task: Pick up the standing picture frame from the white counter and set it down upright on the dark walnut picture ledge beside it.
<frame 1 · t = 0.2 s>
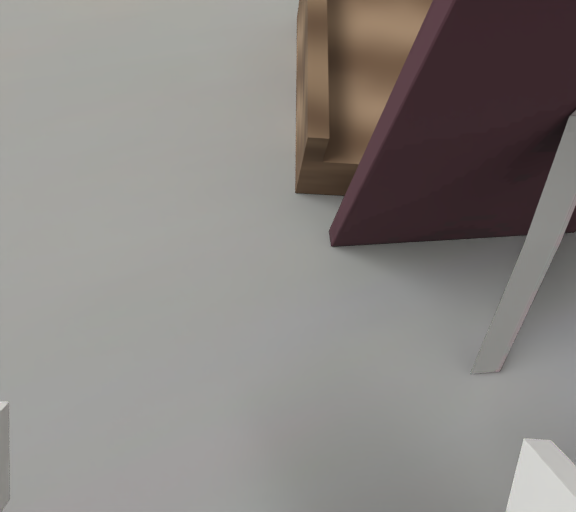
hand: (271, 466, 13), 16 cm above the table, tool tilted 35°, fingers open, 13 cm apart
walnut ledge: (447, 109, 38), on the table
picture frame: (467, 295, 33), on the table
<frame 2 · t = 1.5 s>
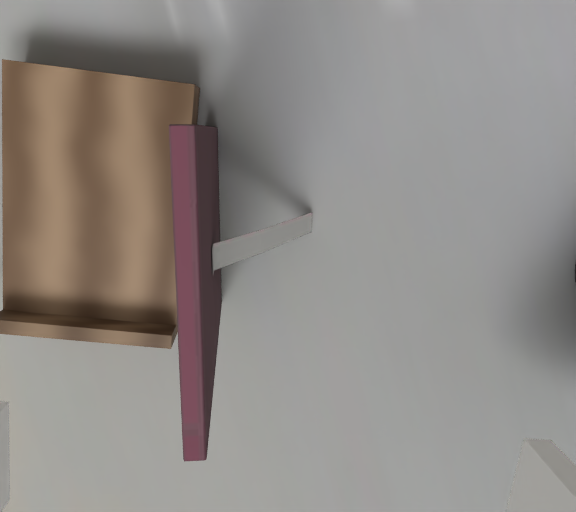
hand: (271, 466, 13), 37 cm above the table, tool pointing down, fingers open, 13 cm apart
walnut ledge: (107, 202, 48), on the table
picture frame: (259, 218, 49), on the table
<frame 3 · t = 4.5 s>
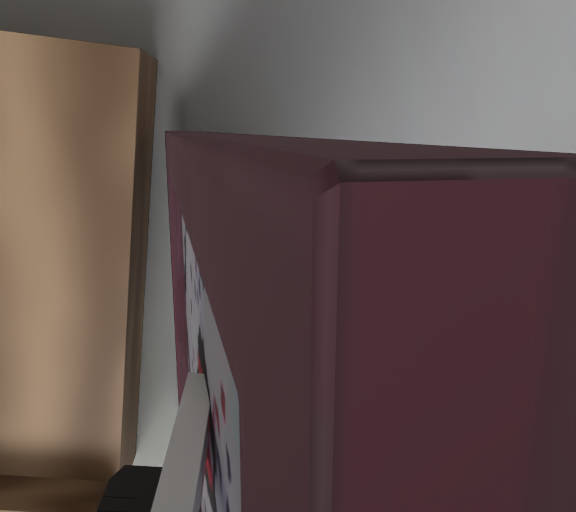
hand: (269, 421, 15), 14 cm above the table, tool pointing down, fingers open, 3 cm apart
walnut ledge: (1, 261, 27), on the table
picture frame: (266, 289, 28), point 1 cm above the table
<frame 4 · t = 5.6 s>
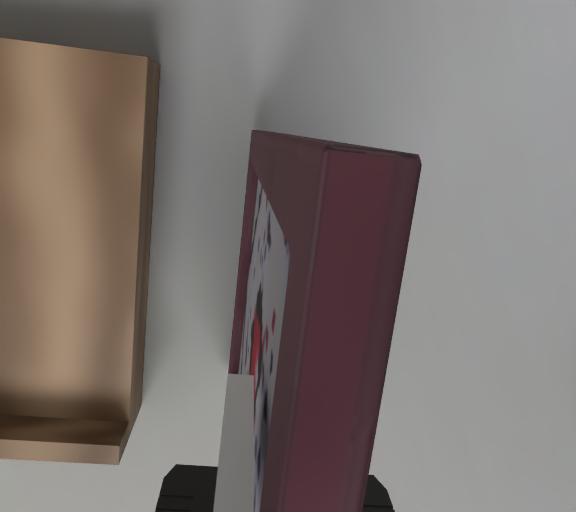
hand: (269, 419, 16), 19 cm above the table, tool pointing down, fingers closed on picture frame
walnut ledge: (26, 237, 32), on the table
picture frame: (317, 275, 32), point 2 cm above the table, touching gripper
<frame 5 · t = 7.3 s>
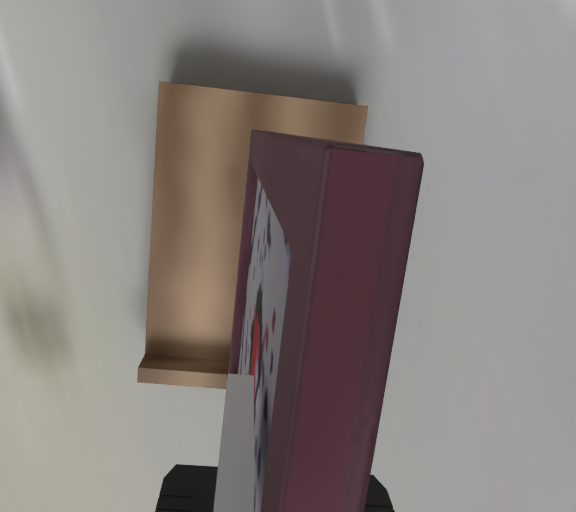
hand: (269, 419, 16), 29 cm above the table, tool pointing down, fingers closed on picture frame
walnut ledge: (251, 233, 44), on the table
picture frame: (317, 275, 32), point 12 cm above the table, touching gripper
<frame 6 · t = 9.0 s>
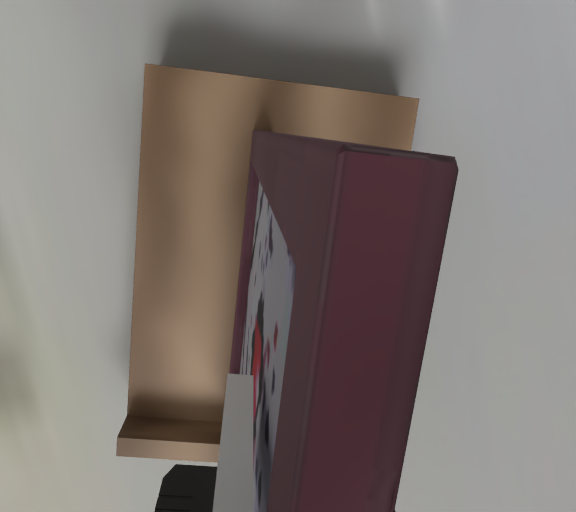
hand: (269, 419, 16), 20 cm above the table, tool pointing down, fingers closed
walnut ledge: (263, 259, 35), on the table
picture frame: (320, 281, 31), point 4 cm above the table, touching gripper, walnut ledge
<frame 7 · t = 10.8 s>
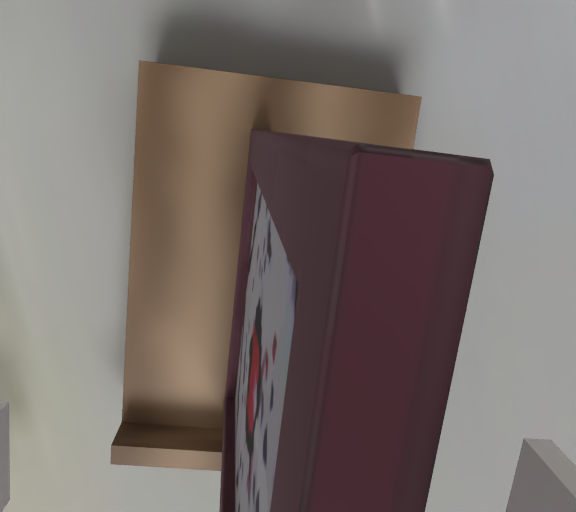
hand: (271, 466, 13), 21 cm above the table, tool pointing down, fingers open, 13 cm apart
walnut ledge: (261, 261, 34), on the table
picture frame: (320, 284, 30), point 4 cm above the table, touching walnut ledge
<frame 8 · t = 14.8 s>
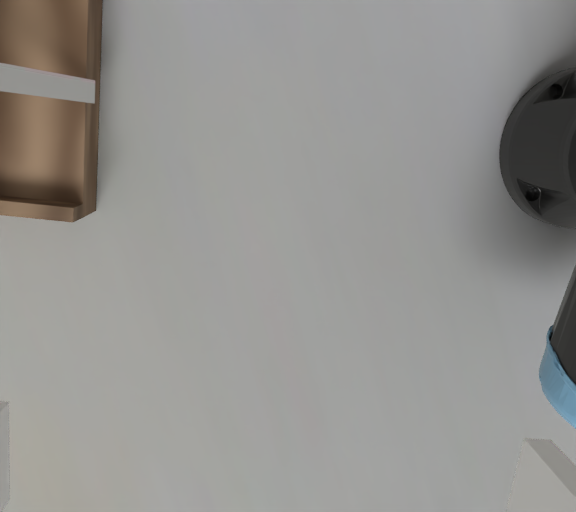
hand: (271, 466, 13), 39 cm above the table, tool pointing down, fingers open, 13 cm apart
walnut ledge: (13, 80, 47), on the table
picture frame: (36, 81, 43), point 4 cm above the table, touching walnut ledge
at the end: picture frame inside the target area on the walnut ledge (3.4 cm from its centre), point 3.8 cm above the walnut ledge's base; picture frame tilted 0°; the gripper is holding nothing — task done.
